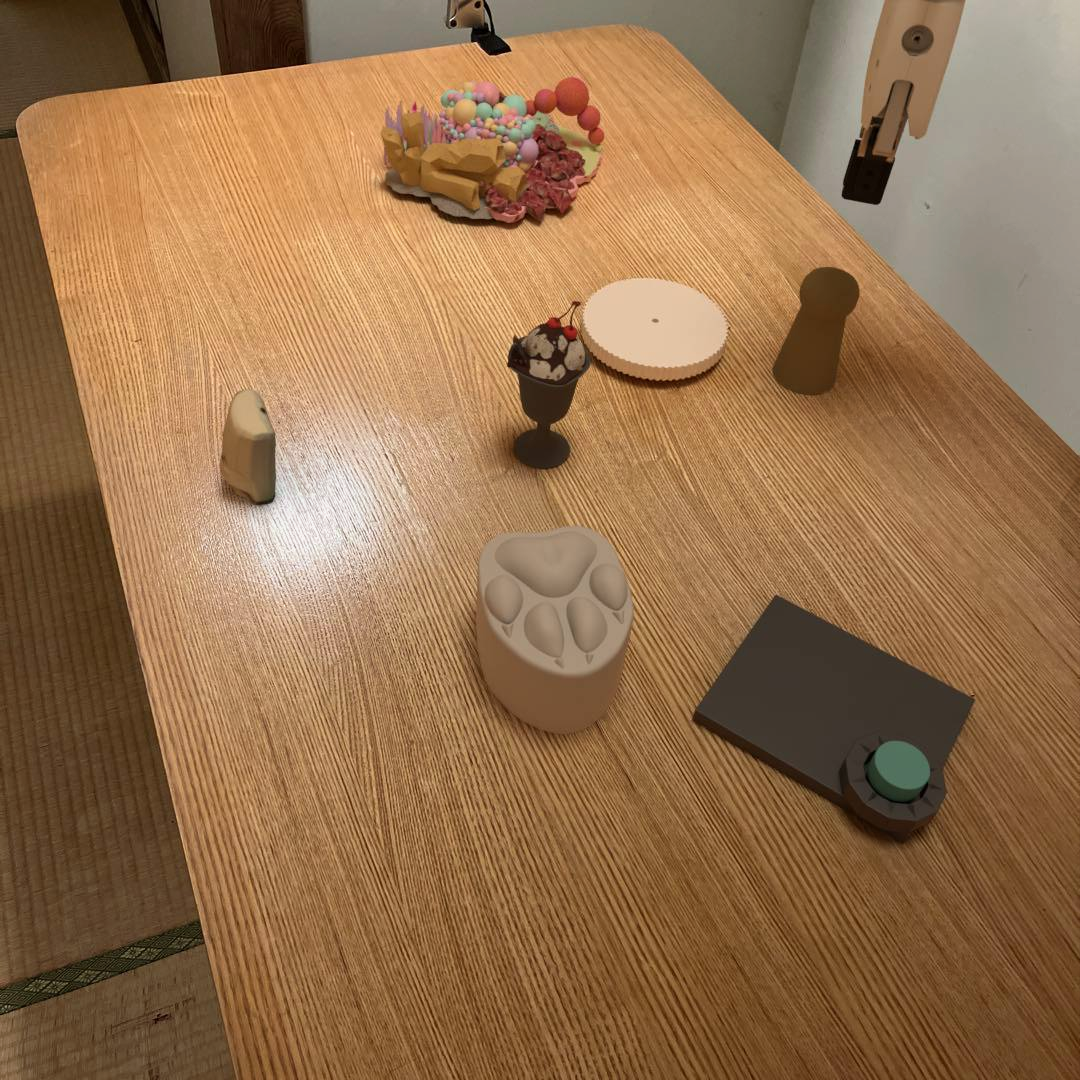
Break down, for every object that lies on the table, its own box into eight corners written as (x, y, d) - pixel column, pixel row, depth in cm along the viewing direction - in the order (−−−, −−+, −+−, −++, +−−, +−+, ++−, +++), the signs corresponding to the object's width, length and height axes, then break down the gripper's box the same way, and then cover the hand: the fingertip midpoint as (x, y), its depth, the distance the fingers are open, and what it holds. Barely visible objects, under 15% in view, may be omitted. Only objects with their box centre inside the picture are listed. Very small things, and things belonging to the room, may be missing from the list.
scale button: (929, 772, 72) (938, 759, 70) (910, 812, 69) (918, 799, 68) (879, 744, 73) (887, 730, 71) (858, 782, 71) (866, 769, 69)
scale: (978, 714, 78) (994, 691, 76) (909, 860, 70) (925, 839, 68) (771, 605, 84) (780, 580, 81) (686, 728, 76) (693, 704, 73)
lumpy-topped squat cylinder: (599, 582, 84) (611, 506, 78) (641, 723, 76) (659, 651, 69) (467, 597, 82) (468, 520, 76) (496, 744, 74) (500, 672, 67)
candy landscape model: (555, 248, 114) (561, 168, 107) (350, 199, 118) (344, 119, 111) (616, 140, 130) (625, 64, 123) (435, 100, 134) (434, 25, 127)
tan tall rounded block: (307, 481, 89) (297, 409, 83) (263, 518, 86) (249, 446, 80) (255, 452, 91) (241, 379, 85) (211, 488, 88) (193, 415, 82)
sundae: (593, 441, 95) (612, 300, 83) (555, 486, 91) (570, 344, 79) (529, 412, 97) (539, 271, 85) (489, 455, 93) (494, 313, 81)
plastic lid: (750, 340, 106) (755, 319, 104) (669, 409, 98) (673, 388, 96) (635, 281, 111) (638, 260, 109) (550, 342, 103) (552, 321, 102)
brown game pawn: (769, 387, 101) (797, 289, 93) (775, 348, 105) (802, 251, 97) (833, 400, 100) (867, 303, 92) (837, 361, 104) (870, 264, 96)
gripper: (995, 8, 69) (904, 254, 83) (988, -74, 79) (908, 158, 93) (878, -11, 70) (807, 235, 84) (885, -89, 80) (821, 142, 94)
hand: (861, 193), depth 88 cm, fingers closed
